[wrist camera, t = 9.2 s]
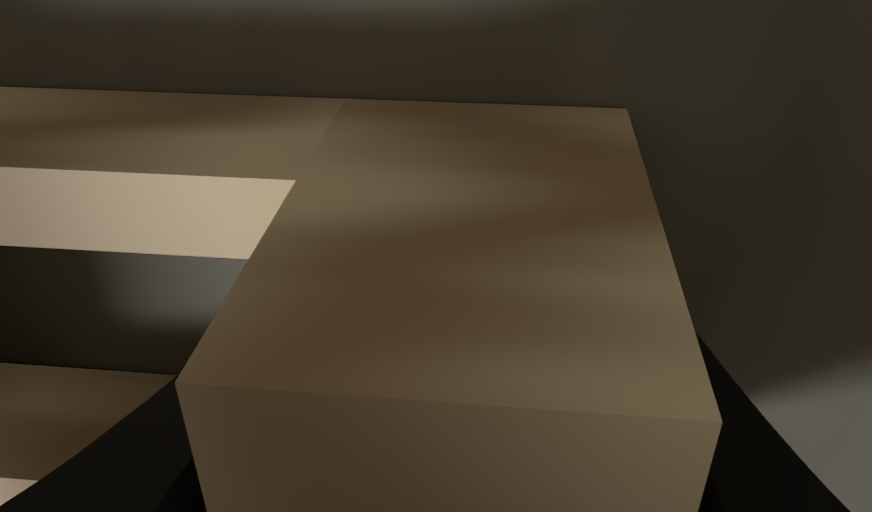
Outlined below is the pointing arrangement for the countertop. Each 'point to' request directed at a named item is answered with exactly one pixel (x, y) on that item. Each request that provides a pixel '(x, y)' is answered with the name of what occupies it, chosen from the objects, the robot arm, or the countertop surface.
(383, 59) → the countertop surface
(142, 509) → the robot arm
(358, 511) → the tan boxy piece
